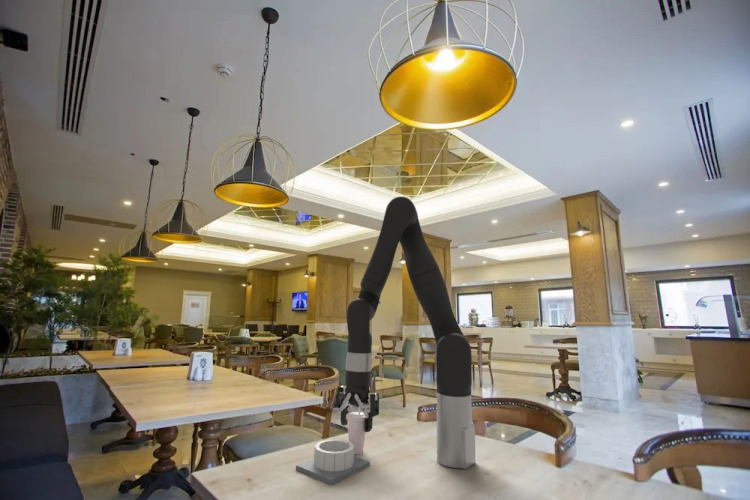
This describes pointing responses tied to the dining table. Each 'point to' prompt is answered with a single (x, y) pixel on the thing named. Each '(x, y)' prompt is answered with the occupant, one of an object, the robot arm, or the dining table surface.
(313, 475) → the holder
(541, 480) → the dining table surface
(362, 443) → the smoothie
